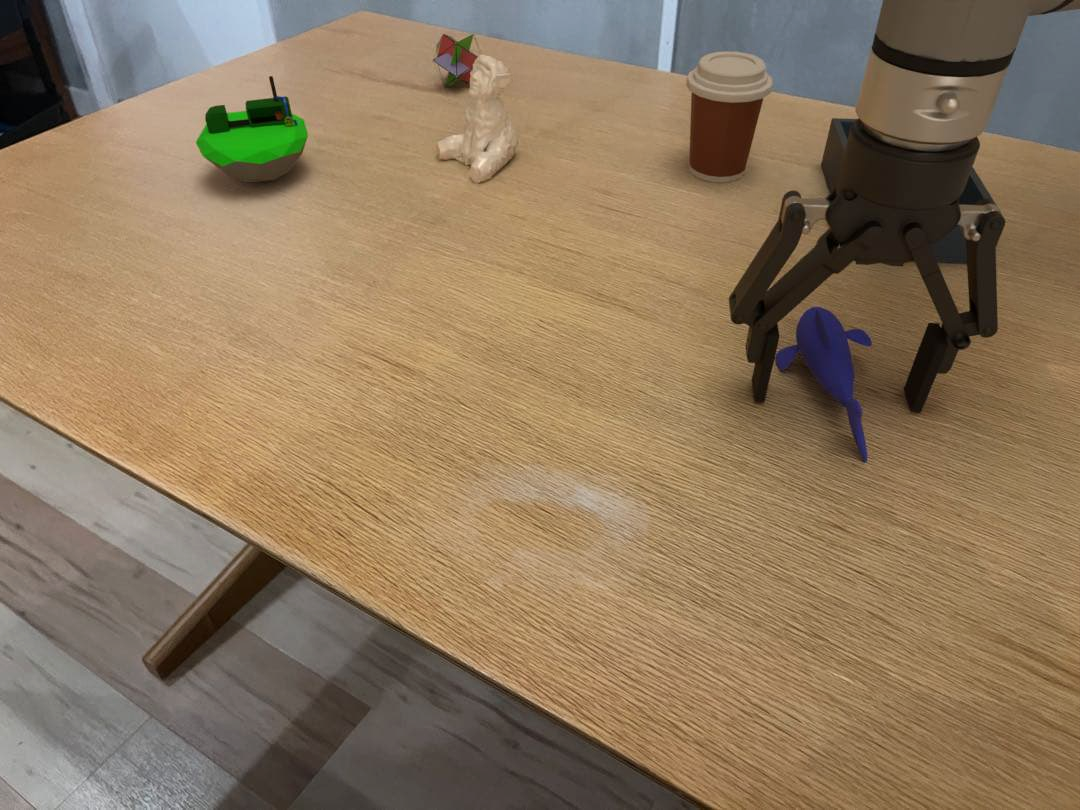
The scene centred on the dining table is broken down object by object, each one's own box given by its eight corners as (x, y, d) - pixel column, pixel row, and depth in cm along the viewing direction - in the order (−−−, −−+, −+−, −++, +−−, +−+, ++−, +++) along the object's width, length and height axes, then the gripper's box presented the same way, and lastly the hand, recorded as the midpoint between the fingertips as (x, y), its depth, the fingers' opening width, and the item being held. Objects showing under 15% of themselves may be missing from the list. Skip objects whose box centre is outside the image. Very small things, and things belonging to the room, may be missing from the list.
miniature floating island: (311, 147, 100) (291, 54, 92) (318, 191, 91) (298, 92, 84) (208, 160, 97) (180, 65, 90) (206, 206, 89) (175, 106, 82)
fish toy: (770, 353, 71) (756, 291, 67) (860, 328, 70) (852, 263, 65) (814, 479, 60) (801, 415, 56) (923, 454, 58) (917, 385, 54)
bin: (929, 169, 94) (944, 121, 90) (979, 264, 79) (1001, 212, 75) (820, 165, 95) (831, 117, 91) (850, 258, 80) (865, 206, 76)
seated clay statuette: (431, 156, 97) (421, 52, 89) (490, 137, 101) (485, 35, 93) (478, 185, 92) (470, 77, 84) (538, 163, 96) (537, 58, 88)
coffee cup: (743, 194, 90) (761, 84, 82) (664, 177, 93) (675, 69, 85) (767, 161, 96) (787, 55, 88) (693, 145, 99) (705, 42, 91)
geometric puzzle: (505, 67, 113) (473, 12, 110) (477, 83, 108) (443, 27, 106) (473, 91, 118) (442, 39, 116) (444, 107, 114) (412, 54, 111)
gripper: (725, 145, 48) (684, 418, 63) (1148, 161, 46) (1005, 438, 61) (718, 96, 54) (682, 357, 68) (1095, 108, 52) (976, 374, 66)
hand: (834, 395), depth 65 cm, fingers open, 11 cm apart
